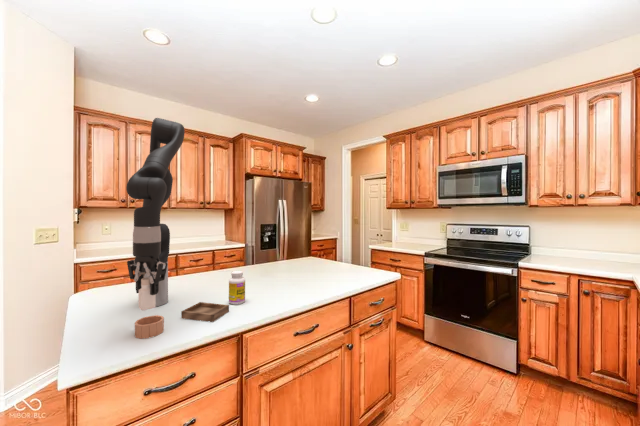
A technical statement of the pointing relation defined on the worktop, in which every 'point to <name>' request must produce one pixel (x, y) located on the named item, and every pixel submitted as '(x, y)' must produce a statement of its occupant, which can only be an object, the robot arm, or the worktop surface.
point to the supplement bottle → (236, 288)
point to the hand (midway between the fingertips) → (147, 293)
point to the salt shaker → (146, 295)
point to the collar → (149, 326)
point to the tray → (205, 311)
